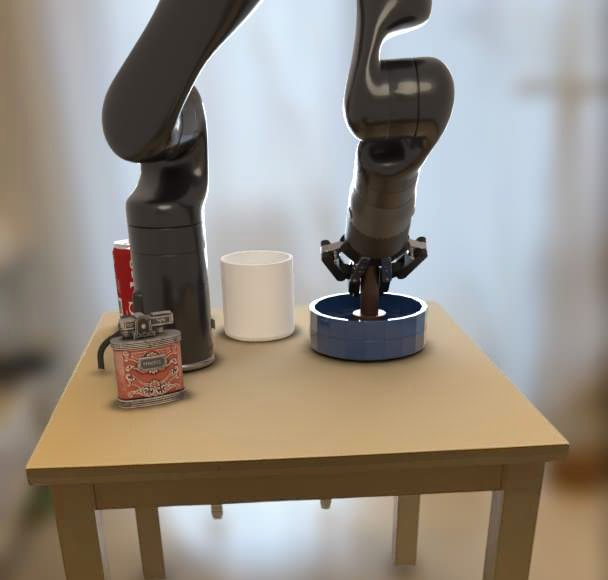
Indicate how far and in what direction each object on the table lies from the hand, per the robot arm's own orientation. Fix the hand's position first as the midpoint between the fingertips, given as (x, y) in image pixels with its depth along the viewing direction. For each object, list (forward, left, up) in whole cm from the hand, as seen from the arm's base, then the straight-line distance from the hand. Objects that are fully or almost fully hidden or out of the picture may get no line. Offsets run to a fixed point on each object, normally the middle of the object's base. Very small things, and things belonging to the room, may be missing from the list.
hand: (367, 290), depth 118 cm
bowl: (0, -2, -7) cm, 7 cm away
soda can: (-32, +12, -7) cm, 35 cm away
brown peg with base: (0, -2, -6) cm, 7 cm away
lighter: (-27, -20, -7) cm, 34 cm away
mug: (-15, +8, -7) cm, 18 cm away
